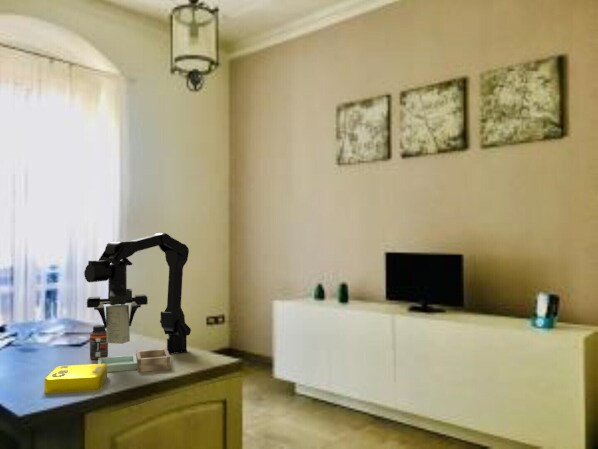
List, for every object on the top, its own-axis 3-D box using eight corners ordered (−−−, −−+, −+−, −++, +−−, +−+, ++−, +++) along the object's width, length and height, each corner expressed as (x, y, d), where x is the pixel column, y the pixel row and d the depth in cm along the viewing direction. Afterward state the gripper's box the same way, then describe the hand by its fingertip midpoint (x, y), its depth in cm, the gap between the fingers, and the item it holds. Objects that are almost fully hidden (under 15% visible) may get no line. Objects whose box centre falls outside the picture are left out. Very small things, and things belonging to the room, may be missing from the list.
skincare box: (130, 341, 176) (130, 304, 176) (121, 344, 172) (121, 306, 172) (114, 340, 178) (113, 304, 178) (105, 343, 174) (105, 305, 174)
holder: (166, 360, 182) (166, 348, 182) (170, 369, 171) (170, 356, 171) (136, 363, 179) (136, 351, 179) (137, 372, 167) (137, 359, 167)
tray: (135, 360, 183) (135, 354, 183) (137, 369, 171) (137, 363, 171) (98, 363, 179) (98, 357, 179) (97, 372, 167) (97, 366, 167)
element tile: (99, 391, 149) (99, 374, 149) (42, 395, 146) (42, 378, 146) (108, 377, 164) (108, 361, 164) (56, 380, 161) (56, 364, 161)
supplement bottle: (101, 360, 183) (101, 327, 183) (86, 359, 184) (86, 327, 184) (111, 356, 188) (111, 324, 188) (96, 355, 190) (96, 323, 190)
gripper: (86, 283, 164) (86, 333, 164) (148, 280, 170) (148, 329, 170) (87, 280, 175) (87, 327, 175) (146, 277, 181) (146, 323, 181)
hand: (117, 327), depth 175 cm, fingers closed on skincare box, 7 cm apart
